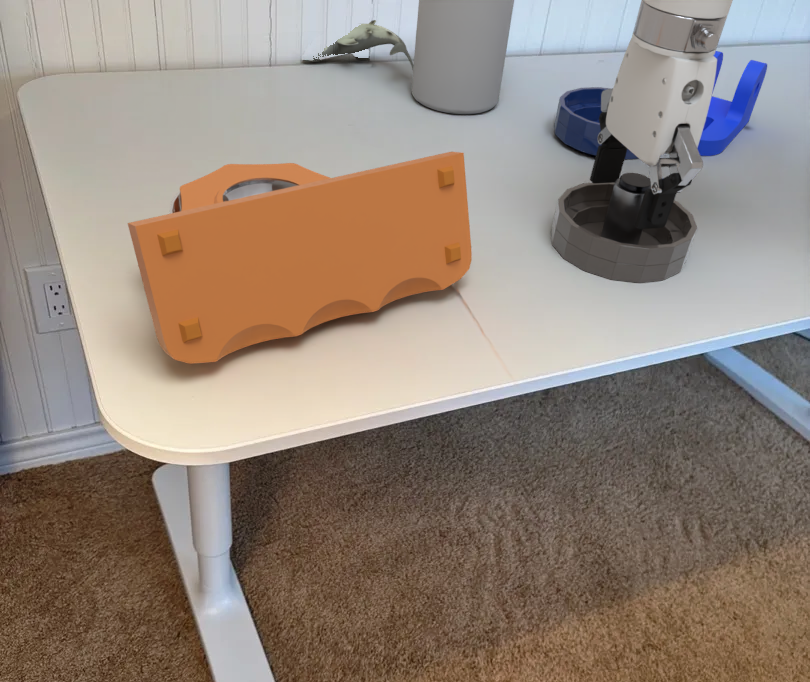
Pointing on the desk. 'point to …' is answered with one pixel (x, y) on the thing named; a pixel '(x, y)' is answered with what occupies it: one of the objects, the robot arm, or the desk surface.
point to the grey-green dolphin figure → (366, 41)
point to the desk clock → (297, 249)
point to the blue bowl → (581, 120)
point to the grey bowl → (611, 259)
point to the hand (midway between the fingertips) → (625, 203)
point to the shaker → (625, 208)
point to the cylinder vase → (460, 54)
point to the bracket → (731, 109)
